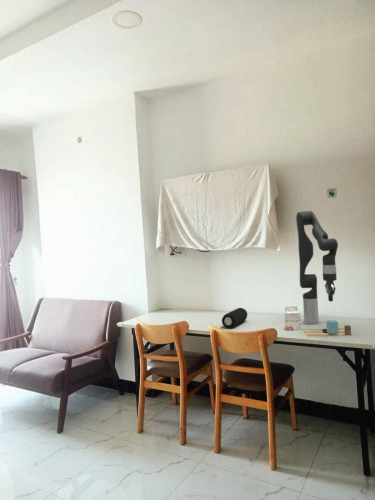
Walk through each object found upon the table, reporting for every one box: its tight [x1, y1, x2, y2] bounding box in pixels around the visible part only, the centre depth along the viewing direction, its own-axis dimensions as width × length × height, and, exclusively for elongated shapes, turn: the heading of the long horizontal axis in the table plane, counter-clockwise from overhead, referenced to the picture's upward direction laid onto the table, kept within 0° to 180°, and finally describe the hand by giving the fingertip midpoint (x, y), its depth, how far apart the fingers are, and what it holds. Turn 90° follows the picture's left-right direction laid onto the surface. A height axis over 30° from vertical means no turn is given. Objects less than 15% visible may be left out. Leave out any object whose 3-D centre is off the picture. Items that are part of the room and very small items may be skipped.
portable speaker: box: [221, 307, 248, 329], centre depth 249 cm, size 26×10×10 cm, turn 148°
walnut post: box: [343, 324, 352, 336], centre depth 206 cm, size 3×3×5 cm
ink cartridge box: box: [284, 305, 302, 332], centre depth 225 cm, size 9×5×15 cm, turn 92°
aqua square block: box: [325, 319, 339, 334], centre depth 209 cm, size 5×5×7 cm
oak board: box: [302, 327, 353, 338], centre depth 213 cm, size 16×25×1 cm, turn 85°
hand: (330, 301), depth 211 cm, fingers closed
